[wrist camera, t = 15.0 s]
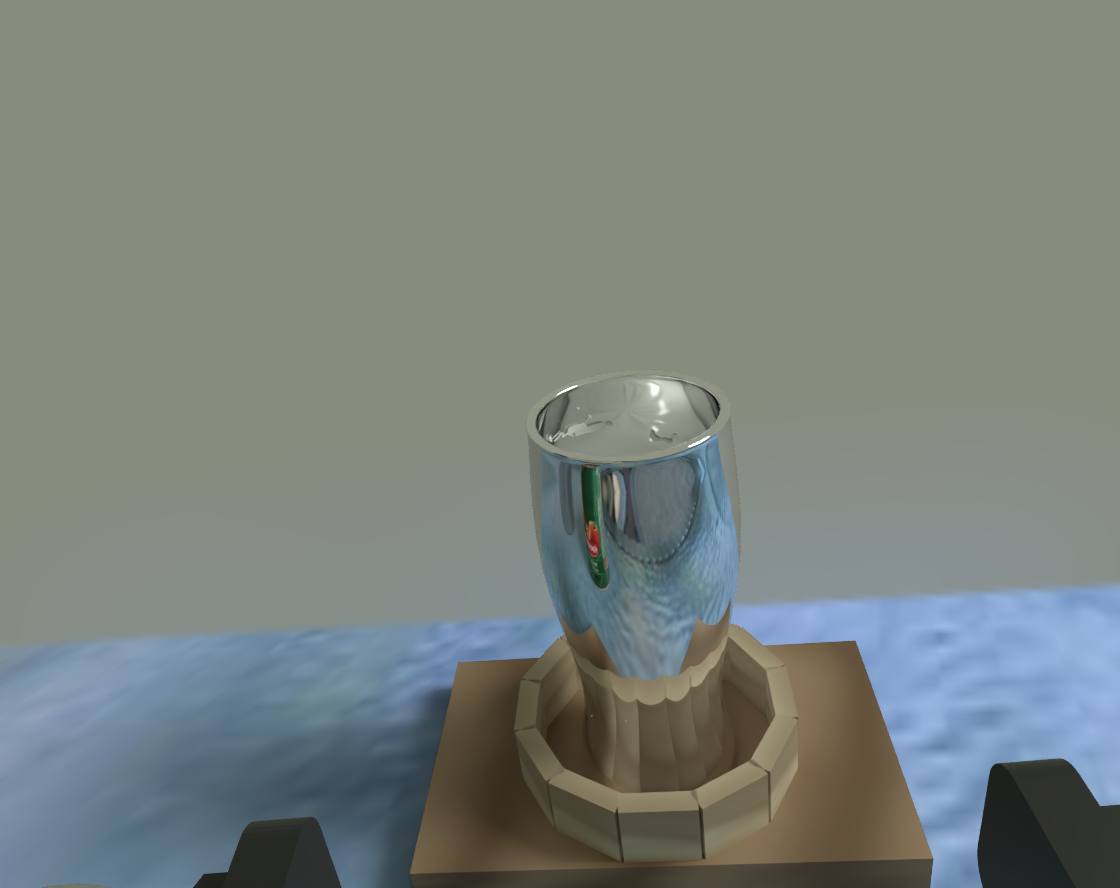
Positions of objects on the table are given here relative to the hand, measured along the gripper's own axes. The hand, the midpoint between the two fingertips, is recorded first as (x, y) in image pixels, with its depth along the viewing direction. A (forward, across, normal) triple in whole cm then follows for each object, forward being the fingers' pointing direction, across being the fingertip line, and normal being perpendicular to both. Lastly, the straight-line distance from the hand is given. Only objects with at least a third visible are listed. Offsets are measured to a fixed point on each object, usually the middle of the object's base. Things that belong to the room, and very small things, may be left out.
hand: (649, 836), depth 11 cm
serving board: (+18, -1, +20) cm, 27 cm away
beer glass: (+18, -1, +18) cm, 26 cm away
